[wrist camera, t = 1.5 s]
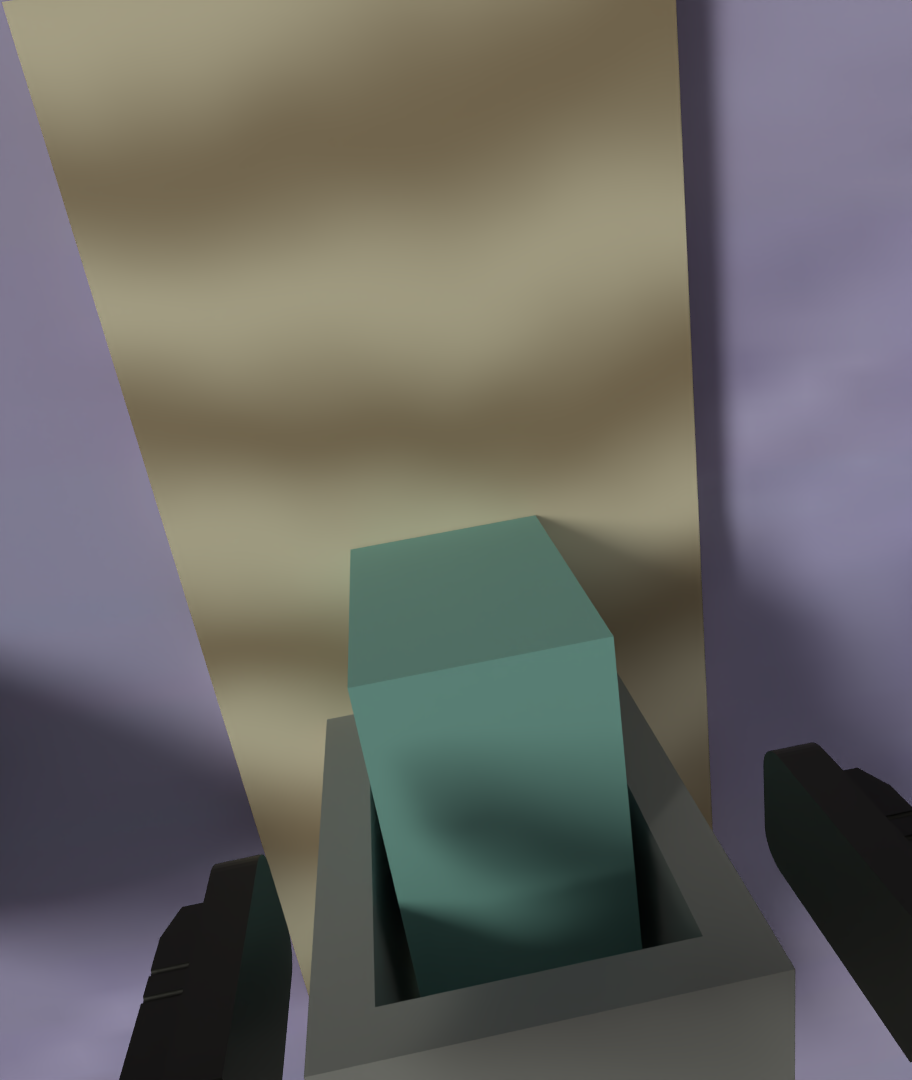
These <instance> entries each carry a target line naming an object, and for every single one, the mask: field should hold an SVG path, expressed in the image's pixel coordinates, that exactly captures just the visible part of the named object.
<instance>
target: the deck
mask: <svg viewBox="0 0 912 1080" xmlns="http://www.w3.org/2000/svg"><path fill="white" fill-rule="evenodd" d="M2 4H3V7H4V11H5V14H6V17H7V20H8V24H9V27H10V30H11V33H12V37H13V40H14V43H15V46H16V50H17V53H18V56H19V59H20V62H21V66H22V69H23V72H24V75H25V79H26V82H27V85H28V88H29V92H30V95H31V98H32V101H33V105H34V108H35V111H36V114H37V118H38V121H39V124H40V127H41V130H42V134H43V137H44V140H45V143H46V147H47V150H48V153H49V156H50V160H51V163H52V166H53V169H54V173H55V176H56V179H57V182H58V186H59V189H60V192H61V195H62V198H63V202H64V205H65V208H66V211H67V215H68V218H69V221H70V224H71V228H72V231H73V234H74V237H75V241H76V244H77V247H78V250H79V253H80V257H81V260H82V263H83V266H84V270H85V273H86V276H87V279H88V283H89V286H90V289H91V292H92V296H93V299H94V302H95V305H96V309H97V312H98V315H99V318H100V321H101V325H102V328H103V331H104V334H105V338H106V341H107V344H108V347H109V351H110V354H111V357H112V360H113V364H114V367H115V370H116V373H117V377H118V380H119V383H120V386H121V389H122V393H123V396H124V399H125V402H126V406H127V409H128V412H129V415H130V419H131V422H132V425H133V428H134V432H135V435H136V438H137V441H138V444H139V448H140V451H141V454H142V457H143V461H144V464H145V467H146V470H147V474H148V477H149V480H150V483H151V487H152V490H153V493H154V496H155V500H156V503H157V506H158V509H159V512H160V516H161V519H162V522H163V525H164V529H165V532H166V535H167V538H168V542H169V545H170V548H171V551H172V555H173V558H174V561H175V564H176V568H177V571H178V574H179V577H180V580H181V584H182V587H183V590H184V593H185V597H186V600H187V603H188V606H189V610H190V613H191V616H192V619H193V623H194V626H195V629H196V632H197V636H198V639H199V642H200V645H201V648H202V652H203V655H204V658H205V661H206V665H207V668H208V671H209V674H210V678H211V681H212V684H213V687H214V691H215V694H216V697H217V700H218V703H219V707H220V710H221V713H222V716H223V720H224V723H225V726H226V729H227V733H228V736H229V739H230V742H231V746H232V749H233V752H234V755H235V759H236V762H237V765H238V768H239V771H240V775H241V778H242V781H243V784H244V788H245V791H246V794H247V797H248V801H249V804H250V807H251V810H252V814H253V817H254V820H255V823H256V827H257V830H258V833H259V836H260V839H261V843H262V846H263V849H264V852H265V856H266V859H267V861H268V864H269V867H270V870H271V874H272V877H273V880H274V884H275V887H276V890H277V893H278V897H279V900H280V903H281V907H282V910H283V913H284V916H285V920H286V923H287V926H288V930H289V933H290V937H291V940H292V943H293V946H294V950H295V953H296V956H297V959H298V962H299V966H300V969H301V972H302V975H303V979H304V982H305V985H306V988H307V992H308V995H309V992H310V976H311V960H312V945H313V929H314V913H315V897H316V882H317V866H318V850H319V834H320V819H321V803H322V787H323V772H324V756H325V740H326V724H327V719H332V718H337V717H342V716H347V715H352V714H353V710H352V705H351V701H350V697H349V693H348V688H347V686H348V641H349V596H350V550H351V549H357V548H362V547H367V546H373V545H378V544H384V543H389V542H394V541H400V540H405V539H410V538H416V537H421V536H427V535H432V534H437V533H443V532H448V531H453V530H459V529H464V528H470V527H475V526H480V525H486V524H491V523H496V522H502V521H507V520H513V519H518V518H523V517H529V516H534V515H536V517H537V519H538V520H539V522H540V523H541V525H542V526H543V528H544V529H545V531H546V532H547V534H548V536H549V537H550V539H551V540H552V542H553V543H554V545H555V546H556V548H557V549H558V551H559V553H560V554H561V556H562V557H563V559H564V560H565V562H566V563H567V565H568V567H569V568H570V570H571V571H572V573H573V574H574V576H575V577H576V579H577V580H578V582H579V584H580V585H581V587H582V588H583V590H584V591H585V593H586V594H587V596H588V598H589V599H590V601H591V602H592V604H593V605H594V607H595V608H596V610H597V611H598V613H599V615H600V616H601V618H602V619H603V621H604V622H605V624H606V625H607V627H608V629H609V630H610V632H611V633H612V635H613V636H614V647H615V658H616V669H617V673H618V675H619V676H620V678H621V680H622V681H623V683H624V685H625V686H626V688H627V690H628V691H629V693H630V695H631V696H632V698H633V700H634V701H635V703H636V705H637V706H638V708H639V710H640V711H641V713H642V715H643V716H644V718H645V720H646V721H647V723H648V725H649V726H650V728H651V730H652V731H653V733H654V735H655V736H656V738H657V740H658V741H659V743H660V745H661V746H662V748H663V750H664V751H665V753H666V755H667V756H668V758H669V760H670V761H671V763H672V765H673V766H674V768H675V770H676V771H677V773H678V775H679V776H680V778H681V780H682V781H683V783H684V785H685V786H686V788H687V790H688V791H689V793H690V795H691V796H692V798H693V800H694V801H695V803H696V805H697V806H698V808H699V810H700V811H701V813H702V815H703V816H704V818H705V820H706V821H707V823H708V825H709V826H710V828H711V830H712V807H711V785H710V762H709V739H708V717H707V694H706V672H705V649H704V626H703V604H702V581H701V558H700V536H699V513H698V490H697V468H696V445H695V423H694V400H693V377H692V355H691V332H690V309H689V287H688V264H687V242H686V219H685V196H684V174H683V151H682V128H681V106H680V83H679V60H678V38H677V15H676V0H13V1H6V2H2ZM712 831H713V830H712Z"/></svg>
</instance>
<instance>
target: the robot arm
mask: <svg viewBox="0 0 912 1080" xmlns="http://www.w3.org/2000/svg"><path fill="white" fill-rule="evenodd" d="M764 805H765V832H766V837H767V842H768V845H769V848H770V851H771V854H772V857H773V859H774V861H775V863H776V865H777V867H778V868H779V870H780V872H781V873H782V875H783V876H784V878H785V879H786V880H787V882H788V883H789V885H790V886H791V888H792V889H793V891H794V892H795V894H796V895H797V897H798V898H799V900H800V901H801V903H802V904H803V905H804V907H805V908H806V910H807V911H808V913H809V914H810V916H811V917H812V919H813V920H814V922H815V923H816V925H817V926H818V928H819V929H820V930H821V932H822V933H823V935H824V936H825V938H826V939H827V941H828V942H829V944H830V945H831V947H832V948H833V950H834V951H835V953H836V954H837V955H838V957H839V958H840V960H841V961H842V963H843V964H844V966H845V967H846V969H847V970H848V972H849V973H850V975H851V976H852V978H853V979H854V980H855V982H856V983H857V985H858V986H859V988H860V989H861V991H862V992H863V994H864V995H865V997H866V998H867V1000H868V1001H869V1002H870V1004H871V1005H872V1007H873V1008H874V1010H875V1011H876V1013H877V1014H878V1016H879V1017H880V1019H881V1020H882V1022H883V1023H884V1025H885V1026H886V1027H887V1029H888V1030H889V1032H890V1033H891V1035H892V1036H893V1038H894V1039H895V1041H896V1042H897V1044H898V1045H899V1047H900V1048H901V1050H902V1051H903V1052H904V1054H905V1055H906V1057H907V1058H908V1060H909V1061H910V1062H912V807H911V806H910V805H909V804H908V803H907V802H906V801H905V800H904V799H903V798H902V797H901V796H900V795H899V794H898V793H897V792H896V791H895V790H894V789H893V788H892V787H891V786H890V785H888V784H886V783H885V782H883V781H881V780H879V779H877V778H875V777H874V776H872V775H870V774H868V773H866V772H864V771H863V770H861V769H859V768H854V769H849V770H844V771H843V770H842V769H841V768H840V767H839V766H838V765H837V764H836V762H835V761H834V760H833V759H832V758H831V757H830V756H829V755H828V754H827V753H826V752H825V751H824V750H823V749H822V748H821V747H820V746H819V745H818V744H816V743H807V744H802V745H797V746H792V747H787V748H782V749H778V750H773V751H768V752H767V753H766V754H765V757H764ZM291 978H292V950H291V941H290V935H289V930H288V926H287V923H286V920H285V916H284V913H283V910H282V907H281V903H280V900H279V897H278V893H277V890H276V887H275V884H274V880H273V877H272V874H271V870H270V867H269V864H268V861H267V859H266V857H265V856H264V855H262V854H261V855H256V856H252V857H247V858H242V859H237V860H232V861H227V862H223V863H218V864H215V865H214V866H213V868H212V870H211V873H210V877H209V882H208V886H207V890H206V894H205V898H204V903H199V904H194V905H190V906H185V907H182V908H181V909H180V911H179V912H178V913H177V915H176V916H175V918H174V919H173V920H172V922H171V923H170V925H169V926H168V927H167V929H166V930H165V932H164V933H163V934H162V936H161V937H160V940H159V943H158V947H157V950H156V954H155V957H154V961H153V964H152V968H151V976H149V978H148V982H147V985H146V988H145V992H144V995H143V999H144V1002H143V1003H142V1004H141V1006H140V1009H139V1013H138V1016H137V1020H136V1023H135V1027H134V1030H133V1034H132V1037H131V1040H130V1044H129V1047H128V1051H127V1054H126V1058H125V1061H124V1065H123V1068H122V1072H121V1075H120V1079H119V1080H282V1075H283V1065H284V1054H285V1043H286V1032H287V1021H288V1010H289V999H290V989H291Z"/></svg>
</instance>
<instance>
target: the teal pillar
mask: <svg viewBox="0 0 912 1080" xmlns="http://www.w3.org/2000/svg"><path fill="white" fill-rule="evenodd" d="M347 688H348V693H349V697H350V701H351V705H352V710H353V714H354V718H355V722H356V726H357V731H358V735H359V739H360V743H361V748H362V752H363V756H364V760H365V764H366V769H367V773H368V777H369V781H370V785H371V790H372V794H373V798H374V802H375V807H376V811H377V815H378V819H379V823H380V828H381V832H382V836H383V840H384V845H385V849H386V853H387V857H388V861H389V866H390V870H391V874H392V878H393V883H394V887H395V891H396V895H397V899H398V904H399V908H400V912H401V916H402V920H403V925H404V929H405V933H406V937H407V942H408V946H409V950H410V954H411V958H412V963H413V967H414V971H415V975H416V980H417V984H418V988H419V992H420V996H421V997H425V996H429V995H434V994H439V993H443V992H448V991H453V990H457V989H462V988H466V987H471V986H476V985H480V984H485V983H489V982H494V981H499V980H503V979H508V978H513V977H517V976H522V975H526V974H531V973H536V972H540V971H545V970H549V969H554V968H559V967H563V966H568V965H573V964H577V963H582V962H586V961H591V960H596V959H600V958H605V957H609V956H614V955H619V954H623V953H628V952H633V951H637V950H642V942H641V931H640V920H639V909H638V898H637V887H636V876H635V865H634V855H633V844H632V833H631V822H630V811H629V800H628V789H627V778H626V767H625V756H624V745H623V734H622V723H621V712H620V701H619V690H618V680H617V669H616V658H615V647H614V636H613V635H612V633H611V632H610V630H609V629H608V627H607V625H606V624H605V622H604V621H603V619H602V618H601V616H600V615H599V613H598V611H597V610H596V608H595V607H594V605H593V604H592V602H591V601H590V599H589V598H588V596H587V594H586V593H585V591H584V590H583V588H582V587H581V585H580V584H579V582H578V580H577V579H576V577H575V576H574V574H573V573H572V571H571V570H570V568H569V567H568V565H567V563H566V562H565V560H564V559H563V557H562V556H561V554H560V553H559V551H558V549H557V548H556V546H555V545H554V543H553V542H552V540H551V539H550V537H549V536H548V534H547V532H546V531H545V529H544V528H543V526H542V525H541V523H540V522H539V520H538V519H537V517H536V515H534V516H529V517H523V518H518V519H513V520H507V521H502V522H496V523H491V524H486V525H480V526H475V527H470V528H464V529H459V530H453V531H448V532H443V533H437V534H432V535H427V536H421V537H416V538H410V539H405V540H400V541H394V542H389V543H384V544H378V545H373V546H367V547H362V548H357V549H351V550H350V596H349V641H348V686H347Z"/></svg>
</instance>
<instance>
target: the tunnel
mask: <svg viewBox="0 0 912 1080" xmlns="http://www.w3.org/2000/svg"><path fill="white" fill-rule="evenodd" d="M617 680H618V690H619V701H620V712H621V723H622V734H623V745H624V756H625V767H626V778H627V789H628V800H629V811H630V822H631V833H632V844H633V855H634V865H635V876H636V887H637V898H638V909H639V920H640V931H641V942H642V950H637V951H633V952H628V953H623V954H619V955H614V956H609V957H605V958H600V959H596V960H591V961H586V962H582V963H577V964H573V965H568V966H563V967H559V968H554V969H549V970H545V971H540V972H536V973H531V974H526V975H522V976H517V977H513V978H508V979H503V980H499V981H494V982H489V983H485V984H480V985H476V986H471V987H466V988H462V989H457V990H453V991H448V992H443V993H439V994H434V995H429V996H425V997H421V996H420V992H419V988H418V984H417V980H416V975H415V971H414V967H413V963H412V958H411V954H410V950H409V946H408V942H407V937H406V933H405V929H404V925H403V920H402V916H401V912H400V908H399V904H398V899H397V895H396V891H395V887H394V883H393V878H392V874H391V870H390V866H389V861H388V857H387V853H386V849H385V845H384V840H383V836H382V832H381V828H380V823H379V819H378V815H377V811H376V807H375V802H374V798H373V794H372V790H371V785H370V781H369V777H368V773H367V769H366V764H365V760H364V756H363V752H362V748H361V743H360V739H359V735H358V731H357V726H356V722H355V718H354V714H352V715H347V716H342V717H337V718H332V719H327V724H326V740H325V756H324V772H323V787H322V803H321V819H320V834H319V850H318V866H317V882H316V897H315V913H314V929H313V945H312V960H311V976H310V992H309V1007H308V1023H307V1039H306V1055H305V1070H304V1079H305V1080H795V968H794V966H793V965H792V963H791V961H790V960H789V958H788V956H787V955H786V953H785V951H784V950H783V948H782V946H781V945H780V943H779V941H778V940H777V938H776V936H775V935H774V933H773V931H772V930H771V928H770V926H769V925H768V923H767V921H766V920H765V918H764V916H763V915H762V913H761V911H760V910H759V908H758V906H757V905H756V903H755V901H754V900H753V898H752V896H751V895H750V893H749V891H748V890H747V888H746V886H745V885H744V883H743V881H742V880H741V878H740V876H739V875H738V873H737V871H736V870H735V868H734V866H733V865H732V863H731V861H730V860H729V858H728V856H727V855H726V853H725V851H724V850H723V848H722V846H721V845H720V843H719V841H718V840H717V838H716V836H715V835H714V833H713V831H712V830H711V828H710V826H709V825H708V823H707V821H706V820H705V818H704V816H703V815H702V813H701V811H700V810H699V808H698V806H697V805H696V803H695V801H694V800H693V798H692V796H691V795H690V793H689V791H688V790H687V788H686V786H685V785H684V783H683V781H682V780H681V778H680V776H679V775H678V773H677V771H676V770H675V768H674V766H673V765H672V763H671V761H670V760H669V758H668V756H667V755H666V753H665V751H664V750H663V748H662V746H661V745H660V743H659V741H658V740H657V738H656V736H655V735H654V733H653V731H652V730H651V728H650V726H649V725H648V723H647V721H646V720H645V718H644V716H643V715H642V713H641V711H640V710H639V708H638V706H637V705H636V703H635V701H634V700H633V698H632V696H631V695H630V693H629V691H628V690H627V688H626V686H625V685H624V683H623V681H622V680H621V678H620V676H619V675H618V673H617Z"/></svg>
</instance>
